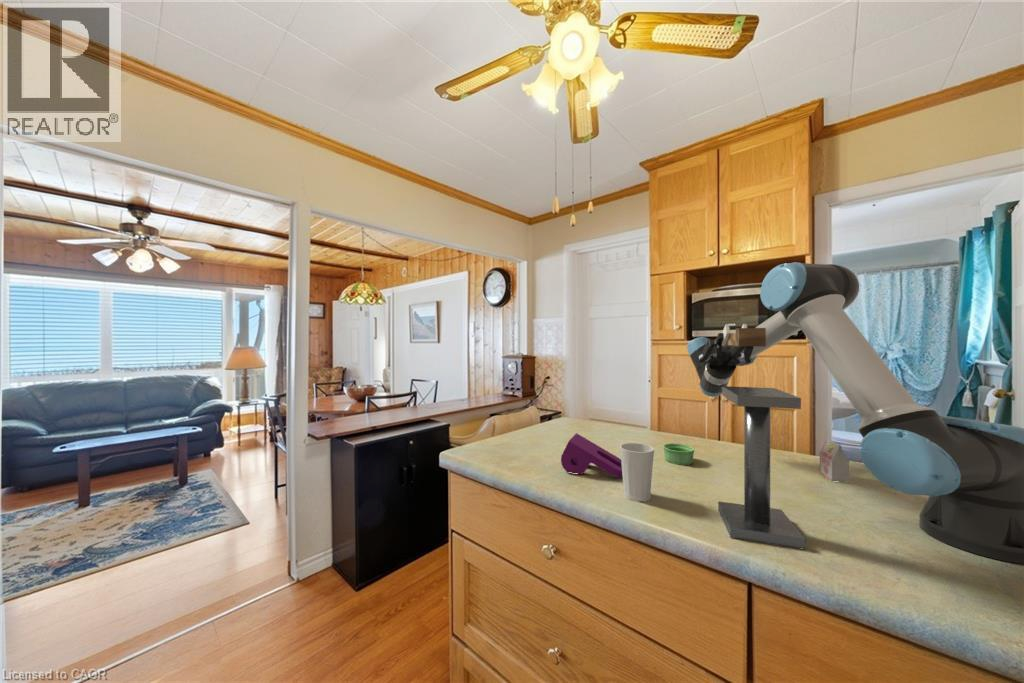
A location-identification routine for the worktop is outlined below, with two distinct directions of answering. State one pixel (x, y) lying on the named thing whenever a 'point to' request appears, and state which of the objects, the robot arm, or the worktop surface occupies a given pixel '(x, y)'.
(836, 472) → the milk carton
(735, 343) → the walnut bar
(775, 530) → the charcoal stand
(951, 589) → the worktop surface
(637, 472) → the cup
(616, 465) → the mounting bracket
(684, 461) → the ramekin
